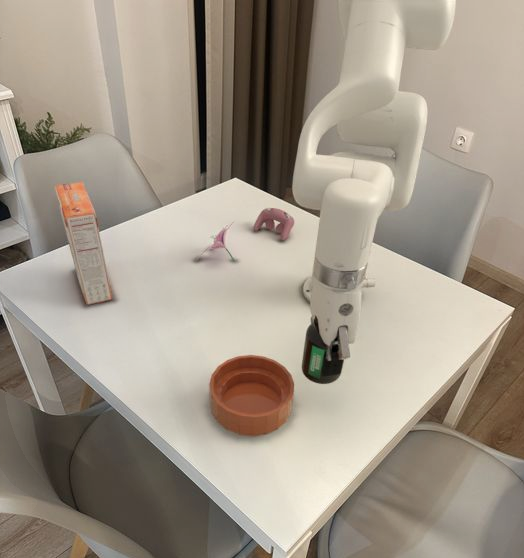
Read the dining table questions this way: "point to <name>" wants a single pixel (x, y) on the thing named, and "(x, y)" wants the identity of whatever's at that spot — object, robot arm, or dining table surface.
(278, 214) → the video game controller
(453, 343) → the dining table surface
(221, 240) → the lily
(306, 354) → the supplement bottle
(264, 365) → the bowl
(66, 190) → the cracker box
